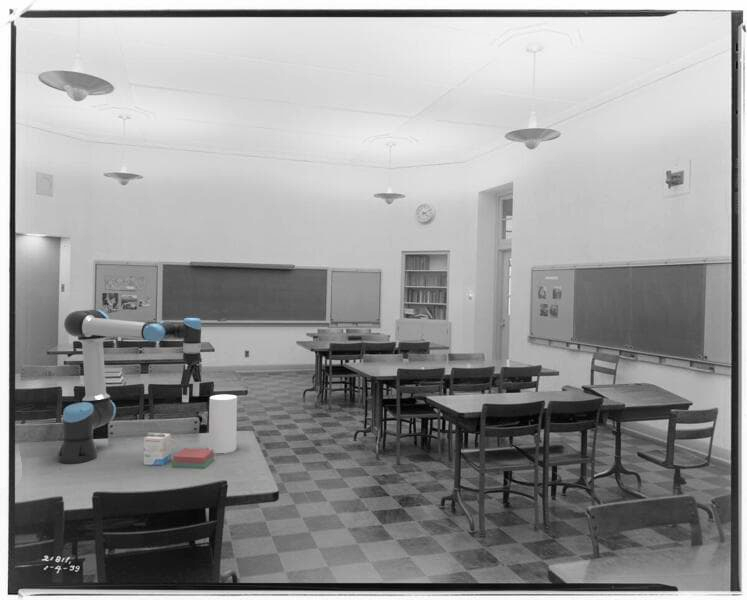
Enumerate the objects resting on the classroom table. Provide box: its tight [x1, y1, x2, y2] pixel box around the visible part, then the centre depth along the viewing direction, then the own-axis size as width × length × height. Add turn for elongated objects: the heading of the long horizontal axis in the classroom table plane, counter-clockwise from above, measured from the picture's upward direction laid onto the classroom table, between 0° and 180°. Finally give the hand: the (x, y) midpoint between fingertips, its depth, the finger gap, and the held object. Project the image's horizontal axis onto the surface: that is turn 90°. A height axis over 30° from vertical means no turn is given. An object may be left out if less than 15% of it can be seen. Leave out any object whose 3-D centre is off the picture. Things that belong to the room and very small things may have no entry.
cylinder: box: [208, 393, 238, 454], centre depth 260 cm, size 12×12×25 cm
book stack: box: [171, 448, 215, 470], centre depth 240 cm, size 14×12×5 cm
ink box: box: [143, 432, 172, 466], centre depth 240 cm, size 9×8×13 cm
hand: (190, 399), depth 251 cm, fingers open, 13 cm apart
